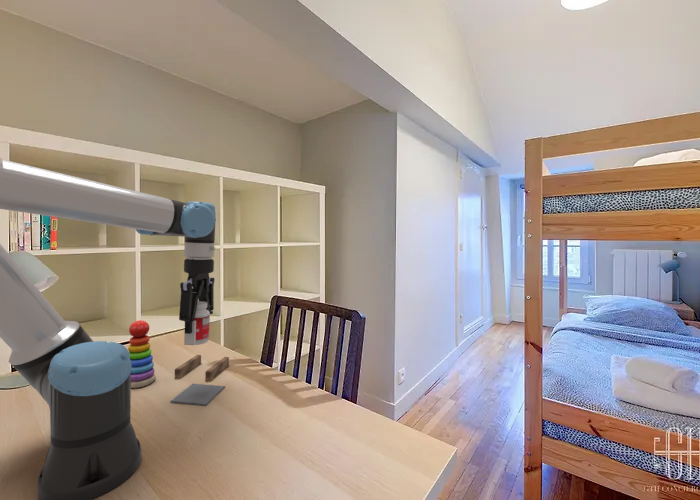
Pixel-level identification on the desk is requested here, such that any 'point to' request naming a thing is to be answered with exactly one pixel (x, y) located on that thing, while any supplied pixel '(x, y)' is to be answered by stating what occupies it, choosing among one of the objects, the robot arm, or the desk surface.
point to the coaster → (198, 394)
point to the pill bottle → (202, 323)
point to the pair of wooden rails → (196, 361)
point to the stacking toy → (140, 355)
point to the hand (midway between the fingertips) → (196, 340)
